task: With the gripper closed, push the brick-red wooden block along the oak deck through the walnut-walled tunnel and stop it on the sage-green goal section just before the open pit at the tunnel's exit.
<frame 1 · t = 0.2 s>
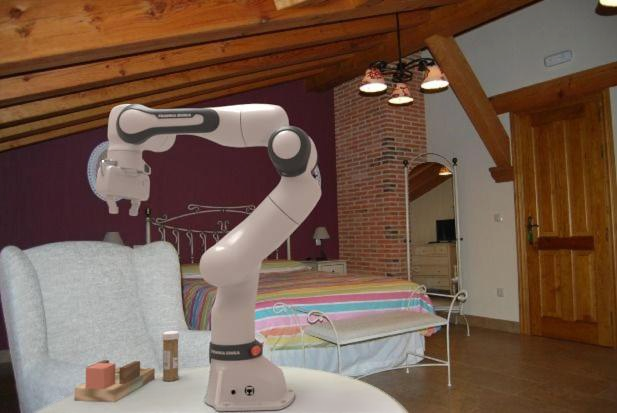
hand: (123, 214, 124), 47 cm above the table, tool pointing down, fingers open, 8 cm apart
deck: (117, 388, 125), on the table
sprinkles bottle: (170, 379, 133), on the table
brick-red block: (100, 385, 117), point 3 cm above the table, touching deck
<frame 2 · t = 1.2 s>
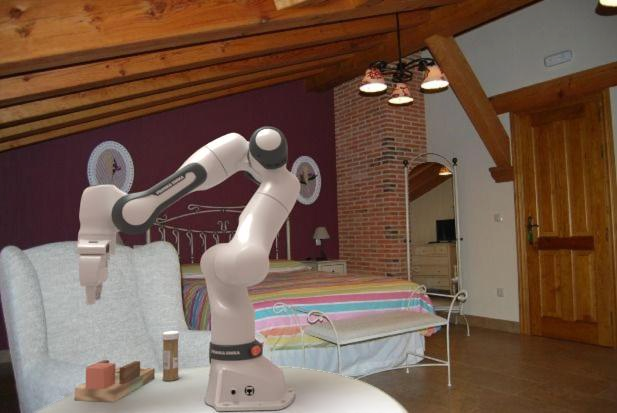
hand: (93, 302, 115), 25 cm above the table, tool pointing down, fingers open, 8 cm apart
nothing on the table moved.
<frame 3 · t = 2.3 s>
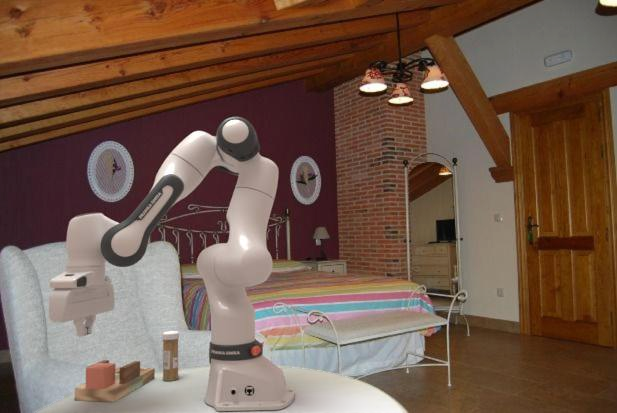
hand: (84, 335, 112), 17 cm above the table, tool pointing down, fingers closed
nothing on the table moved.
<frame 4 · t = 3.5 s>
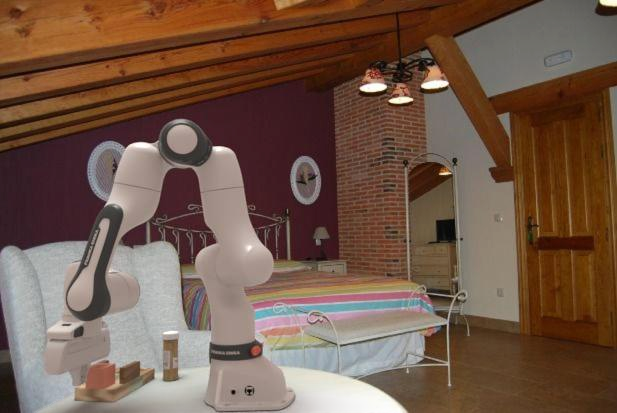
hand: (79, 384, 110), 6 cm above the table, tool pointing down, fingers closed
nothing on the table moved.
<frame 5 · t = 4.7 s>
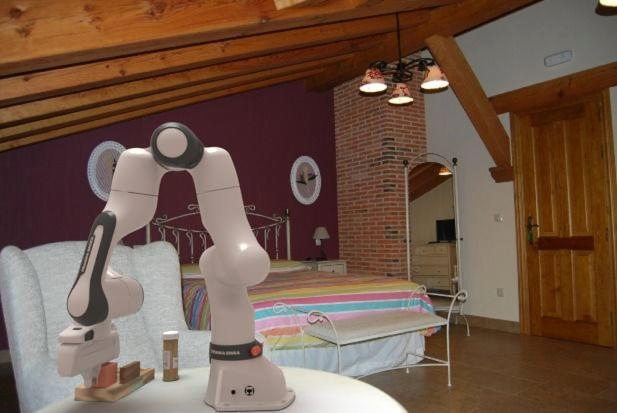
hand: (91, 385, 114), 4 cm above the table, tool pointing down, fingers closed
brick-red block: (102, 384, 119), point 3 cm above the table, touching deck, gripper
everything else where it was.
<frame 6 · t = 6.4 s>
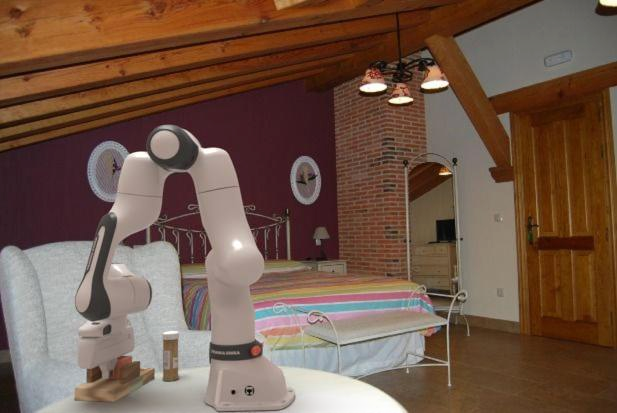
hand: (108, 377, 121), 4 cm above the table, tool pointing down, fingers closed
brick-red block: (118, 376, 126), point 3 cm above the table, touching deck, gripper
everything else where it was.
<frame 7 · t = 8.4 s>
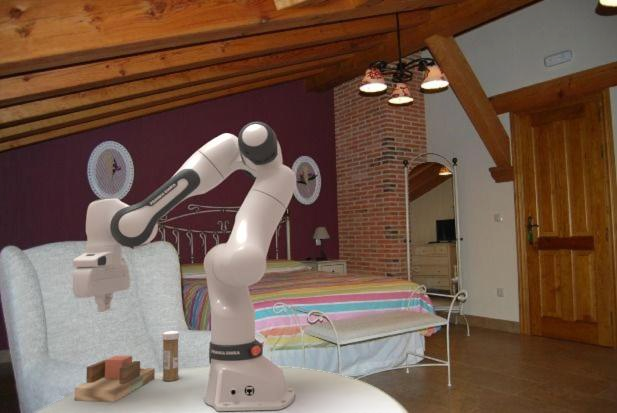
hand: (104, 311, 121), 22 cm above the table, tool pointing down, fingers closed
brick-red block: (118, 376, 126), point 3 cm above the table, touching deck
everything else where it was.
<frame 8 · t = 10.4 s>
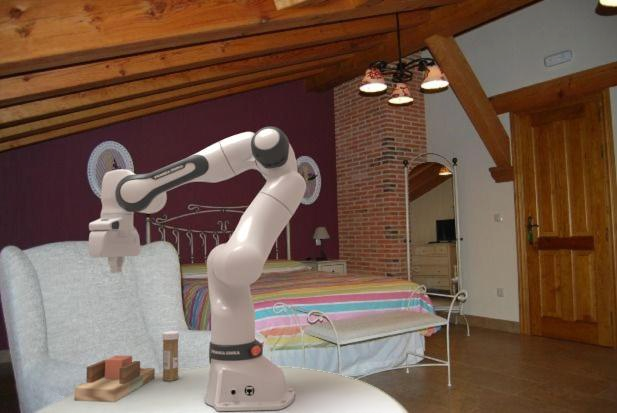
hand: (116, 272, 132), 31 cm above the table, tool pointing down, fingers closed
nothing on the table moved.
at the end: brick-red block inside the target area (1.3 cm from its centre), point 3.0 cm above the table; brick-red block tilted 0° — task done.
